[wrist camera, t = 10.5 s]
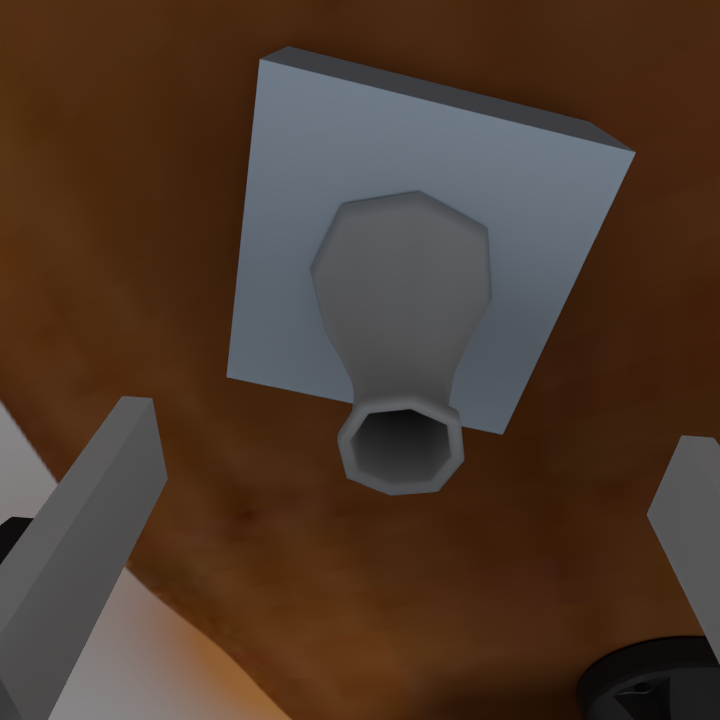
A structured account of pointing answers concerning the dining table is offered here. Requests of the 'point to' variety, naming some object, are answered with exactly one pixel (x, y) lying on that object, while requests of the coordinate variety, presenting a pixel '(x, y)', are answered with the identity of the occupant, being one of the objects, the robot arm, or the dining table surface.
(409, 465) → the flask
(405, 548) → the dining table surface
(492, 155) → the grey block
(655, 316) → the dining table surface
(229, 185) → the dining table surface
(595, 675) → the robot arm
